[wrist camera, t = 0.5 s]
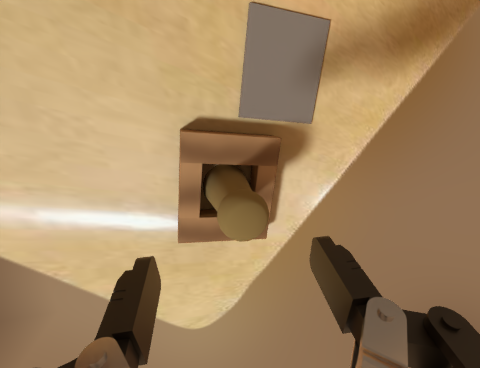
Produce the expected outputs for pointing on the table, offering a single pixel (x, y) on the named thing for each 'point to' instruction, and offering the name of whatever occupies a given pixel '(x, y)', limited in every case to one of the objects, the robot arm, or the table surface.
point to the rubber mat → (281, 64)
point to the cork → (235, 203)
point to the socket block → (220, 152)
